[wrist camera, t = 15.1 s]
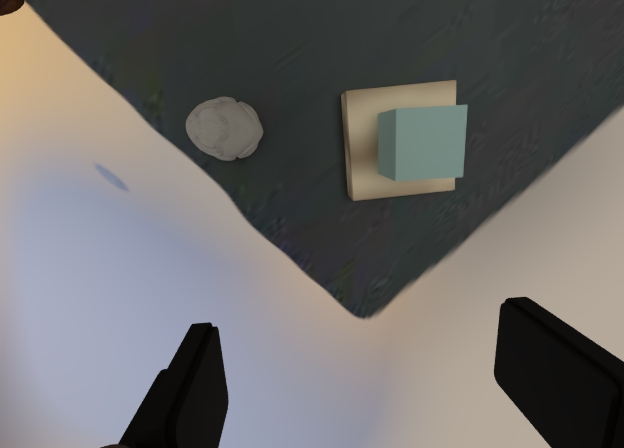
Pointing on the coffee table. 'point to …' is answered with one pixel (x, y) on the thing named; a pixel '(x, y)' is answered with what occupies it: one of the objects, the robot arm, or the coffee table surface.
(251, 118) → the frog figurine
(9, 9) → the wooden figurine
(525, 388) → the robot arm
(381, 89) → the birch block
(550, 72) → the coffee table surface
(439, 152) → the teal cube
